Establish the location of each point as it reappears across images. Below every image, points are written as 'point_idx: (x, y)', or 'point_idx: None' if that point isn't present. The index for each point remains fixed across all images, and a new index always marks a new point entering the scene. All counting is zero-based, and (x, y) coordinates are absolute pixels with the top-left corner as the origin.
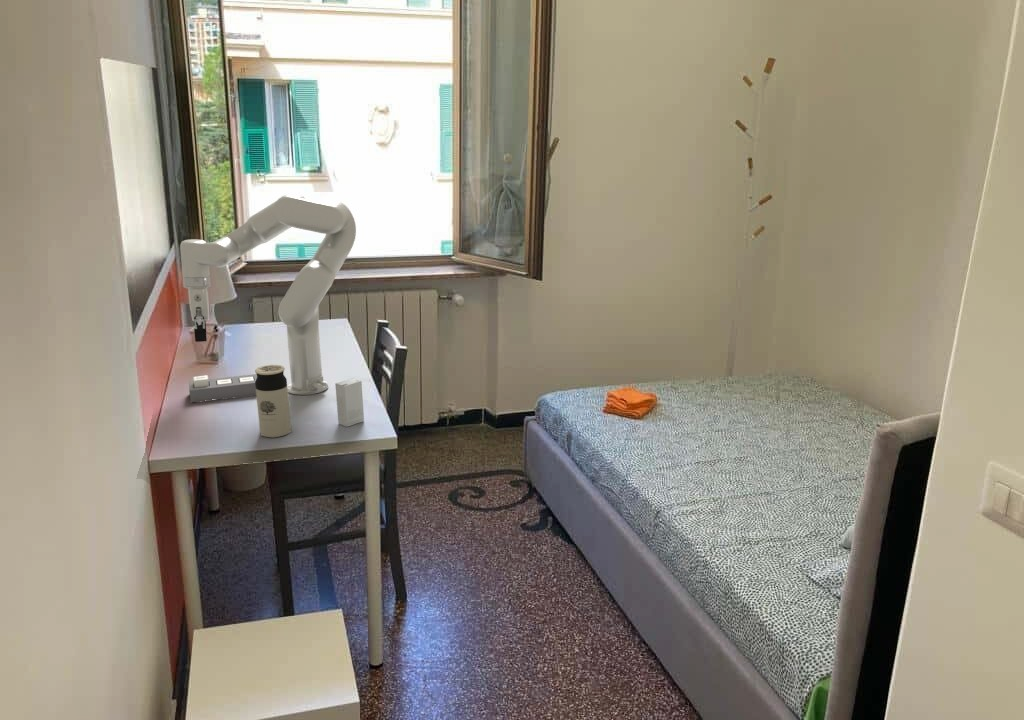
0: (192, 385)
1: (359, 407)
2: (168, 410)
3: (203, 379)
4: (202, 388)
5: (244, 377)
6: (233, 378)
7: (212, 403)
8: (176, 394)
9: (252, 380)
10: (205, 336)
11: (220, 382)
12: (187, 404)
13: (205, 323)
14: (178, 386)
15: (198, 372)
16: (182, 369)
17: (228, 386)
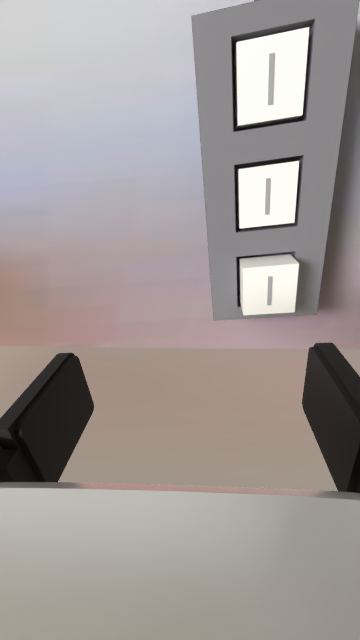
0: None
1: None
2: (336, 343)
3: (296, 280)
4: (316, 275)
5: (232, 97)
6: (231, 157)
7: (339, 232)
8: (205, 334)
9: (308, 37)
10: (348, 370)
11: (272, 212)
12: None
13: (30, 405)
14: (136, 334)
15: (14, 294)
16: None
17: (334, 172)
